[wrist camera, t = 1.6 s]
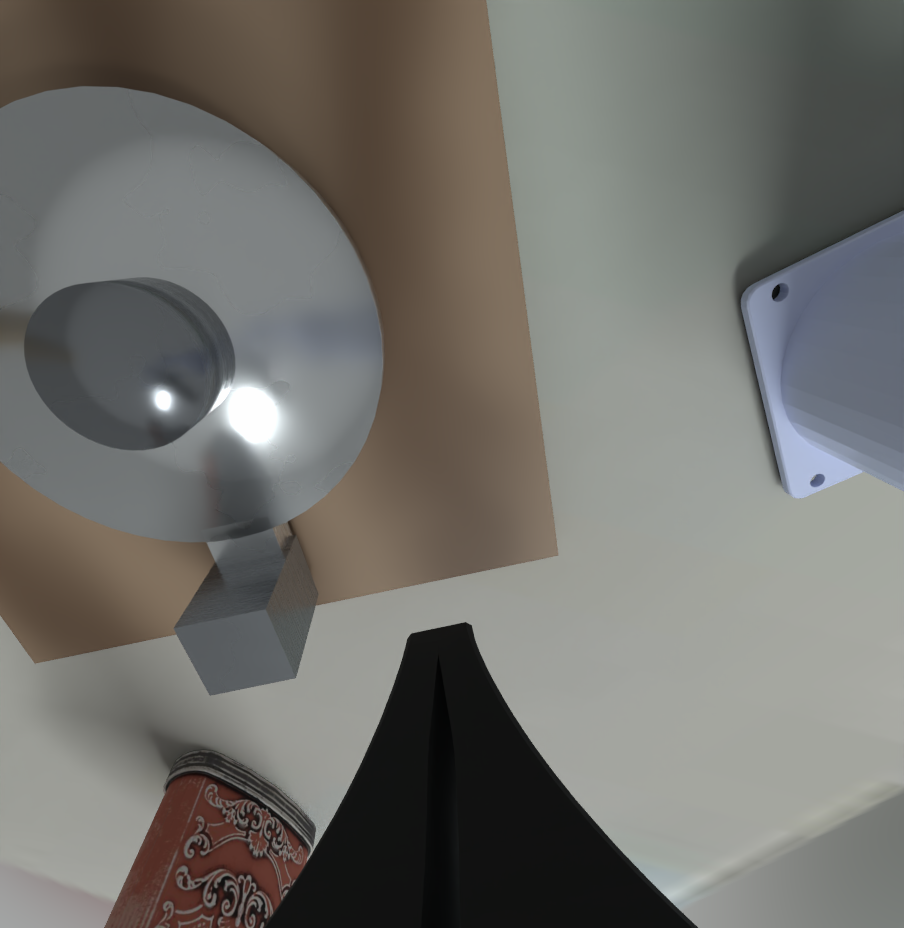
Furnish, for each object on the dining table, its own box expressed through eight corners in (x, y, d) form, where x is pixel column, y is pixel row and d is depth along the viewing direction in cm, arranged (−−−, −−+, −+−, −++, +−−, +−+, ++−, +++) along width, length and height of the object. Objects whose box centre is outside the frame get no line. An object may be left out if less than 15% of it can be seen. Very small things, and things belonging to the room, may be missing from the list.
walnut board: (452, -191, 11) (486, -571, 6) (551, 540, 18) (603, 649, 13) (-387, -1, 11) (-1051, -207, 6) (53, 643, 19) (-79, 788, 14)
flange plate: (317, 53, 11) (275, -32, 8) (442, 564, 17) (450, 646, 14) (-151, 157, 11) (-397, 117, 8) (129, 629, 17) (57, 726, 14)
